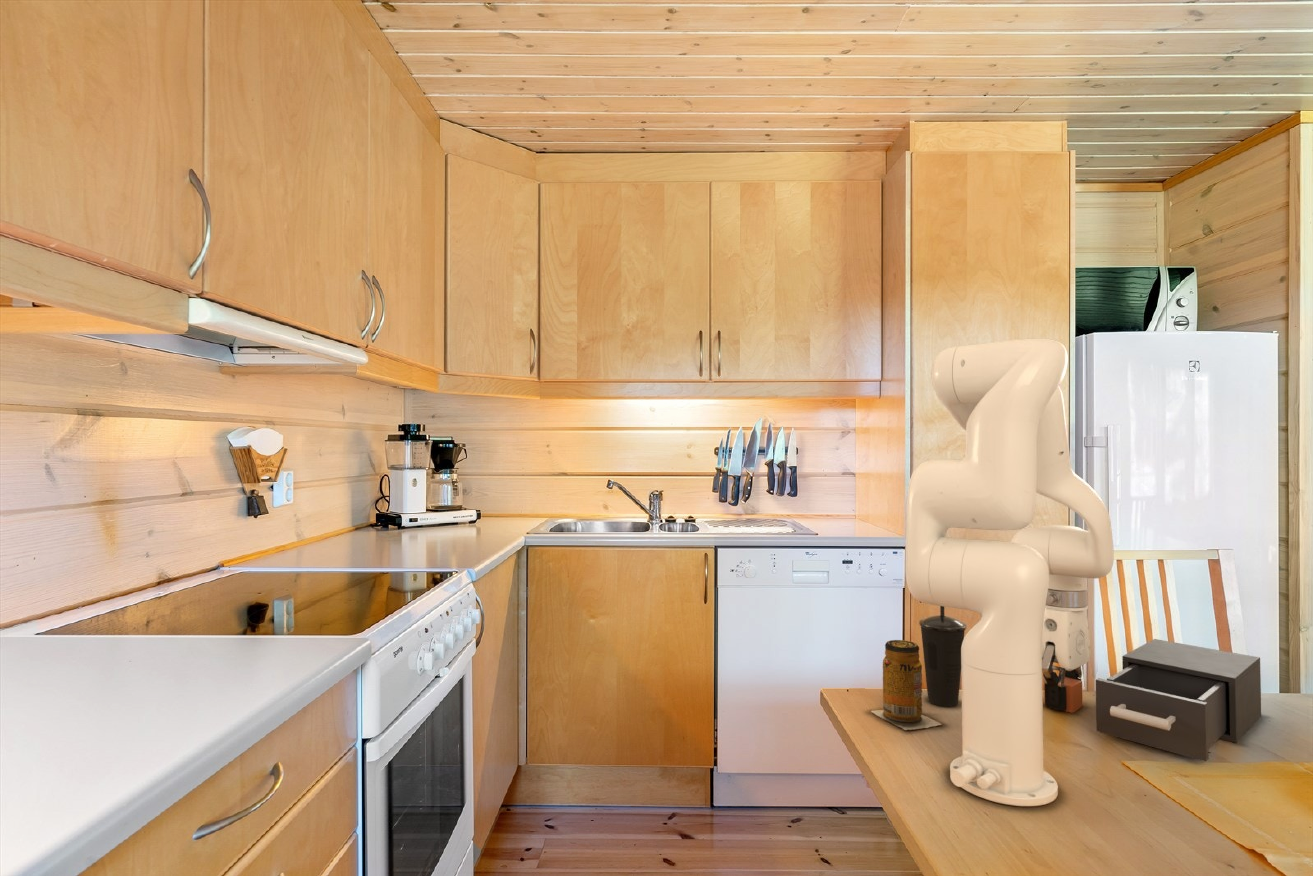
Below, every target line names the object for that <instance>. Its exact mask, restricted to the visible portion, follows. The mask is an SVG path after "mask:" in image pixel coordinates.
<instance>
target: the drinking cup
mask: <svg viewBox="0 0 1313 876" xmlns="http://www.w3.org/2000/svg"><path fill="white" fill-rule="evenodd" d="M918 625H919V626H920V632H921V633H920V634H921V642H922V652H923V653H922V654H923V662H924V672H925V683H926V693H927V701H928V703H930V704H932V705H935V706H937V707H944V708H954V707H957V706H958V705H959V697H960V688H961V687H960V686H961V678H962V676H961V647H962V642H963V640H964V637H965V631H966V630H967V624H966V623H965V622H963V621H960V620H958V619H957V618H955V617H952V616H948V615H945V607H944V606H939V615H938V614H936V615H931V616H927V617H925V618H922V619H920V620H919V621H918Z"/></svg>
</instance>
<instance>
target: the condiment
mask: <svg viewBox="0 0 1313 876" xmlns="http://www.w3.org/2000/svg"><path fill="white" fill-rule="evenodd" d="M884 647H885V648H884V649H885V650H884V655H885V656H884V658H883V659H882V709H876V710H871V711H870V712H871V713H872V714H874V715H875V716H877V717H879V718H881V719H882V720H885V721H886V722H889V723H891V724H892V725H894V726H896V727H898V728H901V729H902V730H904V731H911V730H921V729H928V728H932V727H937V726H941V725H943V724H942V723H940V722H939V721H936V720H934V719H932V718H930V717H929V716H926V715H923V697H922V696H923V674H922V673H923V671H922V670H923V665H922V662H921V660H920V646H919V645H918V644H917V643H916V642H912V641H910V640H905V639H892V640H887V641H886V643H885V644H884Z"/></svg>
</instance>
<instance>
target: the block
mask: <svg viewBox="0 0 1313 876" xmlns="http://www.w3.org/2000/svg"><path fill="white" fill-rule="evenodd" d="M1057 676H1058V677H1059V674H1057ZM1064 686H1065V687H1066V693H1067V710H1066V711H1065V712H1067V713H1072V714H1073V713H1075V712H1077V711H1078V710H1080V709H1081V708H1083V704H1084V703H1083V681H1082V680H1081V681H1080V680H1075V679H1071V678H1067V677H1065V680H1064ZM1043 691H1044V693H1043V694H1044V695H1043V696H1044V698H1043V699H1044V702H1043V703H1044V705H1045V683H1044V682H1043Z"/></svg>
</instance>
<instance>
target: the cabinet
mask: <svg viewBox="0 0 1313 876" xmlns="http://www.w3.org/2000/svg"><path fill="white" fill-rule="evenodd" d="M1121 657H1122V659H1121V660H1122V662H1121V663H1122V670H1123V669H1125V668H1127V667H1129V666H1130V665H1132V664H1134V663H1136V664H1141V665H1146V666H1151V667H1156V668H1161V669H1166V670H1171V671H1175V672H1180V673H1185V674H1190V675H1195V676H1200V677H1205V678H1210V679H1215V680H1220V681H1225V682H1227V688H1228V730H1227V731H1226V732H1225V733H1224V734H1223V735H1222V736H1221V737H1220V738H1219V739H1218V740H1223V741H1227V742H1231V743H1235V744H1237V743H1238V742H1239V741H1240V740H1241V739H1242V738H1243V737H1244V736H1245V734H1247V732H1248V731H1250V729H1251V728H1252V727H1253V725H1255V723H1256V722H1257V721H1258V720H1259V719H1260V718H1261V717H1262V685H1261V682H1262V678H1261V676H1262V675H1261V657H1259V656H1254V655H1248V654H1242V653H1237V652H1233V651H1232V652H1231V651H1225V650H1220V649H1215V648H1209V647H1203V646H1197V645H1191V644H1186V643H1179V642H1176V641H1175V642H1174V641H1169V640H1165V639H1159V638H1158V639H1157V638H1154V639H1151V640H1150V641H1148V642H1146V643H1145V644H1142V645H1141V646H1139V647H1137V648H1134V649H1133V650H1131V651H1129V652H1127V653H1126V654H1124V655H1122V656H1121Z"/></svg>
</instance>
